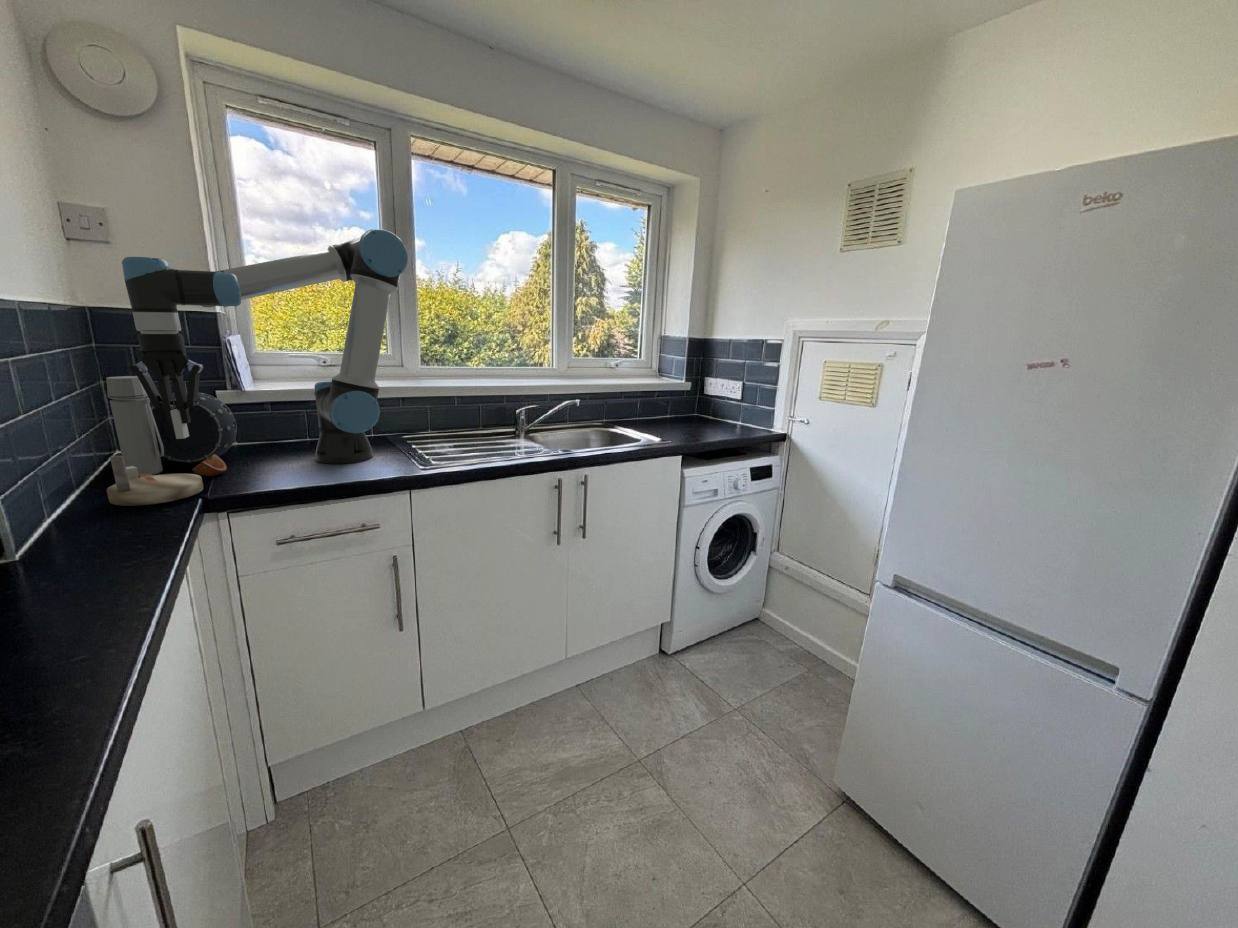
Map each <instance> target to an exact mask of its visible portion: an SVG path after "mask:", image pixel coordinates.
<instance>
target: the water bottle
mask: <svg viewBox="0 0 1238 928" xmlns="http://www.w3.org/2000/svg"><path fill="white" fill-rule="evenodd" d="M106 388H107V389H106V391H107V395H106V396H107V398H109V399H110V400H109V405H110V408H111V412H112V413H111V414H112V416H113V417H112V418H113V421H114V426H115V431H116V435H117V439H118V445H119V448H120V453H121V456H123V458H124V462H125V467H129V466H134V467H137V470H138V474H139V475H141V474H148V473H149V474H151V475H152V476H154V475H156V474H157V475H160V474H161V473H162V472H163V463H162V459H161V457H165V456H164V446H163V443H162V440H161V437H160V434H159V431H158V428H157V425H156V422H155V419H154V416H153V413H152V410H151V401H150V399H149V397H148V395H147V393H146V392H145V390H144V388H143V386H142V384H141V382H140V380H139V379H138V377H137V375H125V376H122V375H121V376H119V375H118V376H109V377H106ZM153 424H154V425H153ZM154 427H155V429H154ZM155 431H156V434H157V437H158V440H159V443H160V446H161V454H160V453H159V449H158V444H157V439H156V434H155Z"/></svg>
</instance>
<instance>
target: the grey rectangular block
mask: <svg viewBox="0 0 1238 928" xmlns="http://www.w3.org/2000/svg"><path fill="white" fill-rule="evenodd" d="M126 471H127V475H128V480H131V479H136V478H139V477H138V475H139V474H138V470H137V467H134V466H129V467H126Z"/></svg>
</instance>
